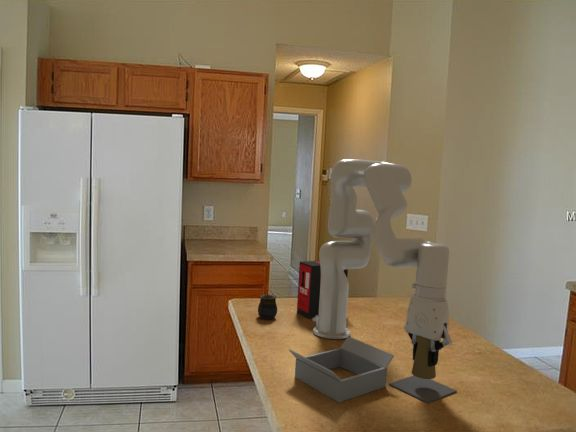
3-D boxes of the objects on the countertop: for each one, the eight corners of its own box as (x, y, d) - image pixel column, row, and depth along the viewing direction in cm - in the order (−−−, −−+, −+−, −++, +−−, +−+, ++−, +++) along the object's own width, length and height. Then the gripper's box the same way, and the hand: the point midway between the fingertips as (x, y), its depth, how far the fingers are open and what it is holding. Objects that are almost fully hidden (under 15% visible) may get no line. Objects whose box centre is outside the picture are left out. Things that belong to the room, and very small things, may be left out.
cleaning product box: (309, 319, 181) (312, 266, 179) (296, 312, 188) (299, 261, 187) (344, 314, 189) (348, 264, 187) (331, 308, 197) (334, 259, 195)
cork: (408, 369, 127) (411, 328, 126) (430, 369, 128) (433, 328, 127) (416, 378, 121) (419, 335, 120) (439, 379, 122) (443, 336, 121)
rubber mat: (389, 384, 126) (389, 383, 126) (417, 375, 133) (418, 373, 133) (427, 403, 116) (428, 401, 116) (456, 392, 124) (456, 390, 124)
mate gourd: (275, 315, 183) (277, 289, 182) (278, 321, 176) (279, 294, 175) (256, 314, 182) (258, 288, 181) (258, 321, 175) (259, 293, 174)
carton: (287, 379, 126) (288, 349, 125) (346, 363, 139) (348, 336, 139) (330, 405, 113) (332, 372, 112) (392, 384, 126) (394, 354, 125)
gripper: (394, 286, 127) (389, 354, 129) (450, 301, 114) (444, 377, 115) (412, 283, 132) (407, 349, 133) (468, 297, 119) (462, 370, 120)
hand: (424, 361), depth 124 cm, fingers closed on cork, 3 cm apart
